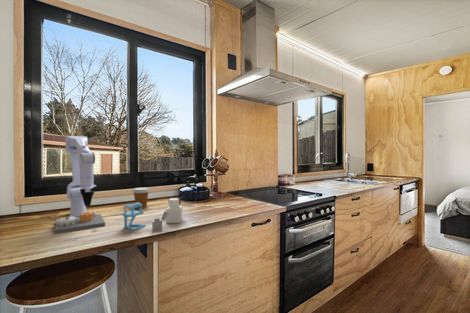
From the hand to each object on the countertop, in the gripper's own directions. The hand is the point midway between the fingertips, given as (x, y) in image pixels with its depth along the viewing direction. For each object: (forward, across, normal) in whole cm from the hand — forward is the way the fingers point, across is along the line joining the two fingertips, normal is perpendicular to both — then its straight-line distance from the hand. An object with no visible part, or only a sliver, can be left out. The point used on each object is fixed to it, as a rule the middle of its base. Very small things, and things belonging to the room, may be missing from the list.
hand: (86, 204), depth 116 cm
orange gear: (+8, 0, 0) cm, 8 cm away
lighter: (+10, -28, -27) cm, 40 cm away
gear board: (+9, 0, +3) cm, 10 cm away
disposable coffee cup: (+10, +18, -30) cm, 36 cm away
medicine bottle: (+10, -20, -37) cm, 43 cm away
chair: (+10, -19, -17) cm, 28 cm away
